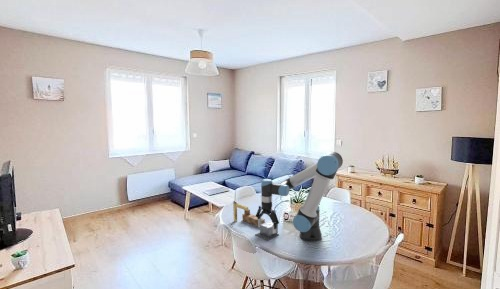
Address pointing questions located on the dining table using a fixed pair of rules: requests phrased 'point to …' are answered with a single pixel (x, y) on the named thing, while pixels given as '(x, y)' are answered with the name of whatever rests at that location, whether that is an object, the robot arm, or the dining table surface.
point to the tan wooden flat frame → (236, 209)
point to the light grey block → (267, 229)
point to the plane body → (251, 218)
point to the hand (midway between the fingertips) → (267, 230)
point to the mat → (265, 236)
